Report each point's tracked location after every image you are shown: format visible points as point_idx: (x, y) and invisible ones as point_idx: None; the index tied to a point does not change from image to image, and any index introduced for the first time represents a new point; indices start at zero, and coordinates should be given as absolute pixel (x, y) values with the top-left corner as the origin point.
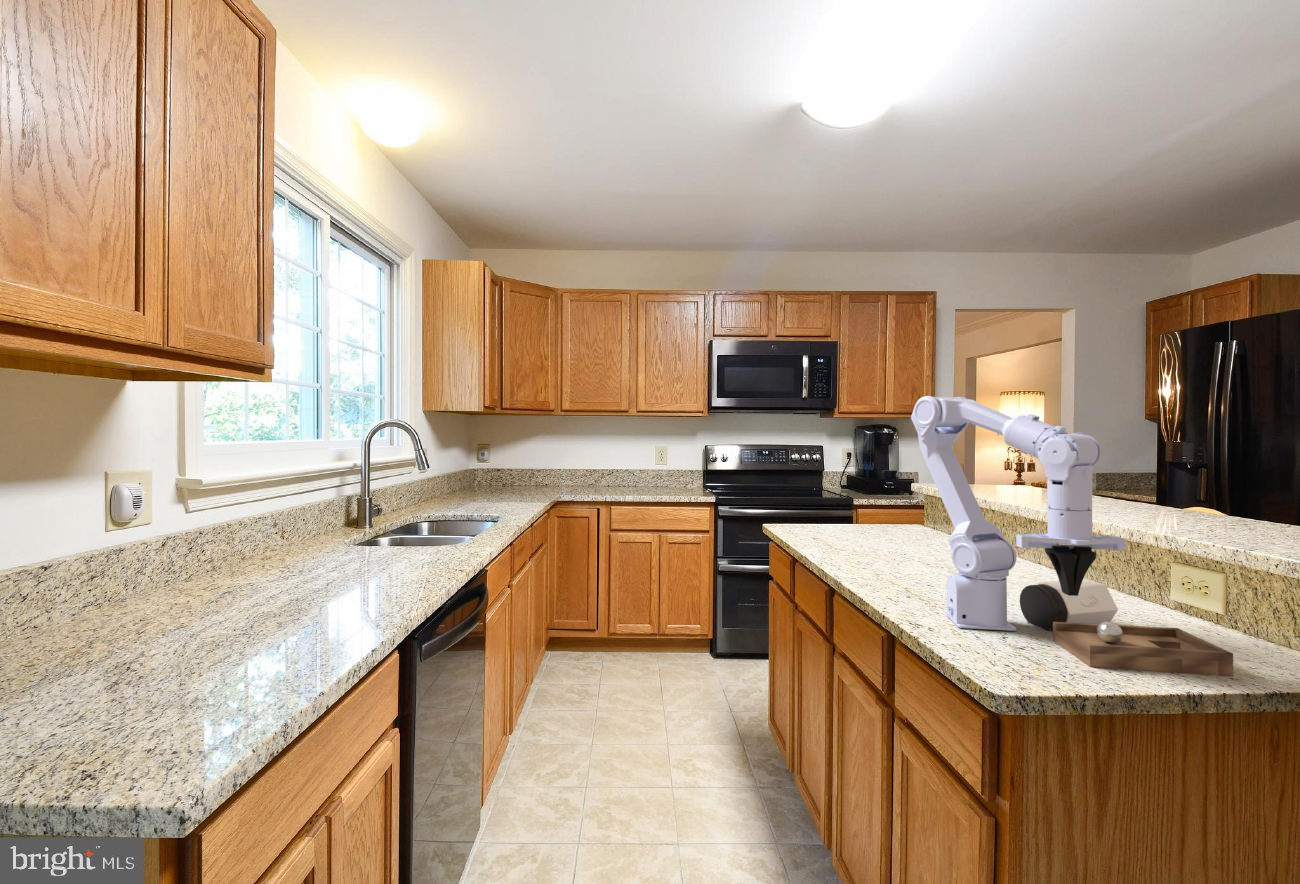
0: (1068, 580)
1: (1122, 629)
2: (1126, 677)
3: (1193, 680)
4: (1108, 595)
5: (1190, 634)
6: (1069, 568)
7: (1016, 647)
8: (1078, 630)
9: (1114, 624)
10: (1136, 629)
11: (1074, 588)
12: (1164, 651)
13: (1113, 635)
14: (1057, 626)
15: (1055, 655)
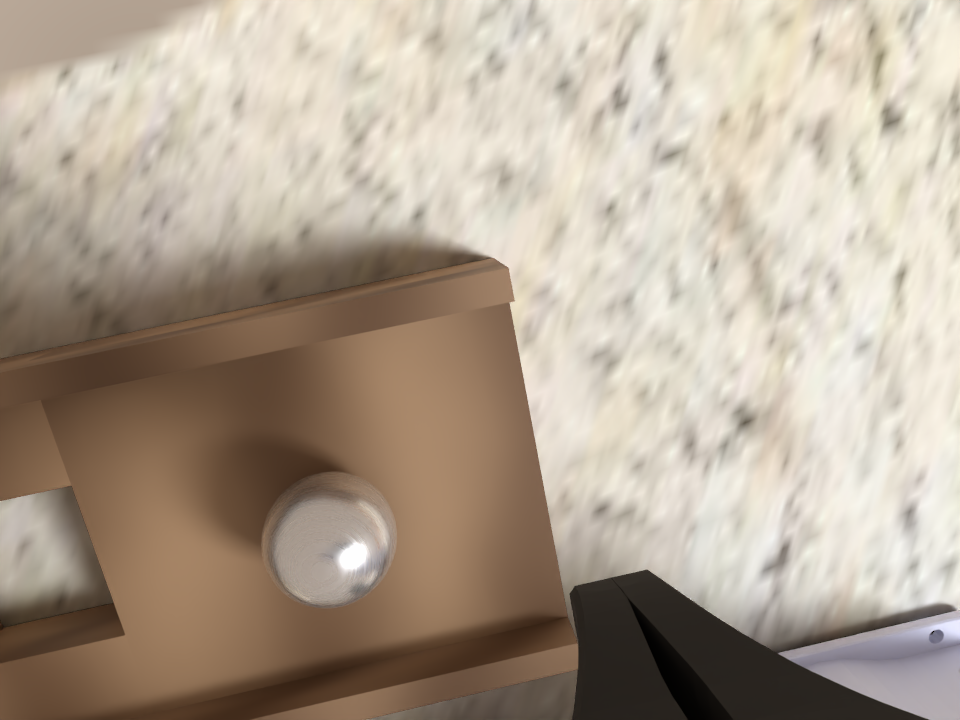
0: (731, 630)
1: (218, 714)
2: (360, 163)
3: (46, 248)
4: None
5: None
6: (825, 717)
7: (764, 425)
8: (450, 647)
9: (300, 551)
10: None
11: (631, 602)
12: (101, 350)
13: (328, 475)
14: (561, 635)
15: (609, 375)
